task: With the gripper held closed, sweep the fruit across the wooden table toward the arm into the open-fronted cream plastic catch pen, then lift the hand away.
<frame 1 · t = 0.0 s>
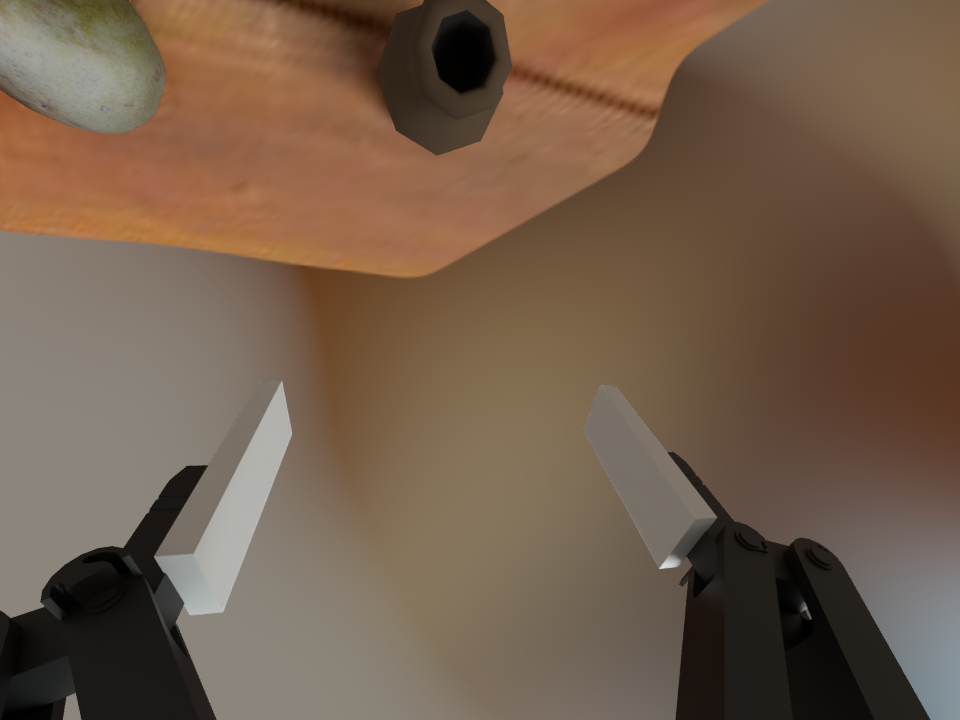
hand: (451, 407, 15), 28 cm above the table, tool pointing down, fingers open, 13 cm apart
fruit: (119, 58, 28), on the table
beer bottle: (432, 96, 32), on the table
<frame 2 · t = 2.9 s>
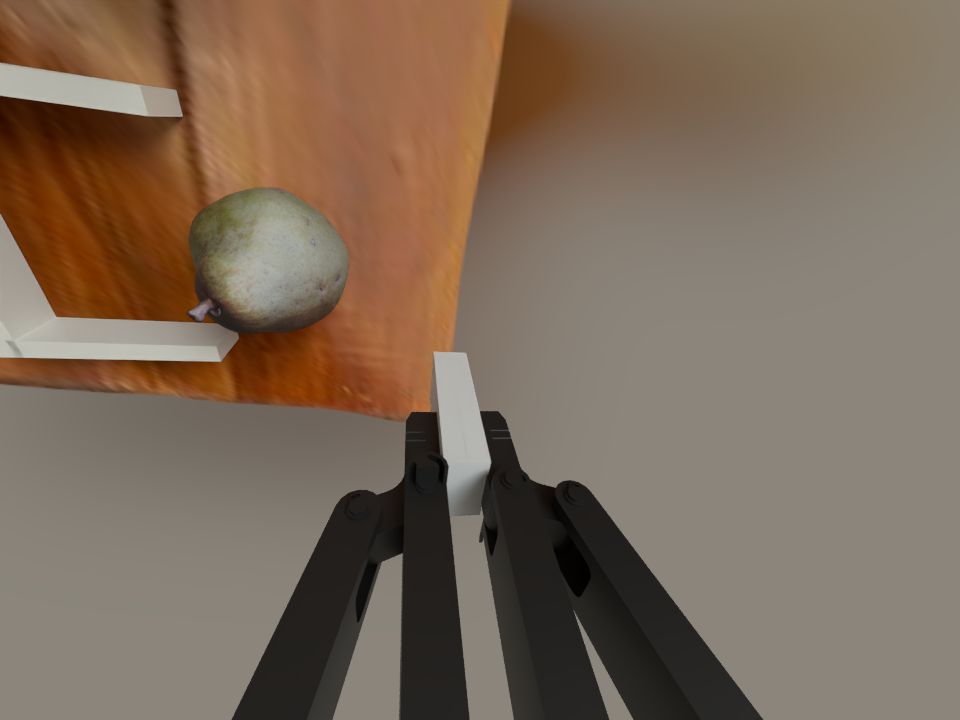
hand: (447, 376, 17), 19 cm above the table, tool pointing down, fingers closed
catch pen: (109, 226, 28), on the table
fruit: (294, 241, 31), on the table
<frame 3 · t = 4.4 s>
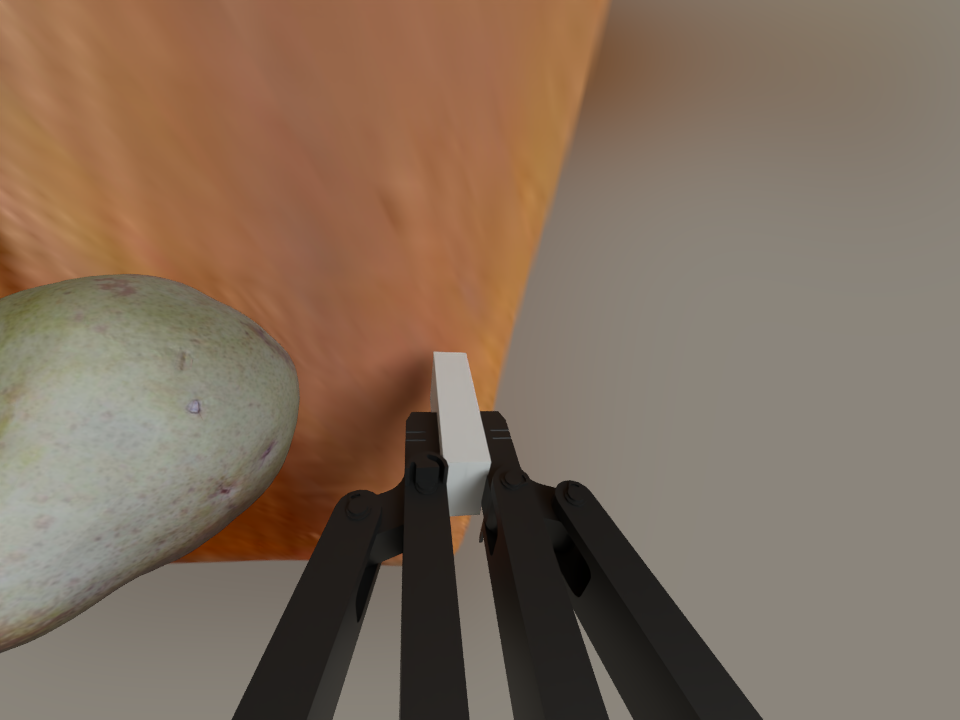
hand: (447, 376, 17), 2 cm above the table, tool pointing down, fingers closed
fruit: (208, 343, 17), on the table
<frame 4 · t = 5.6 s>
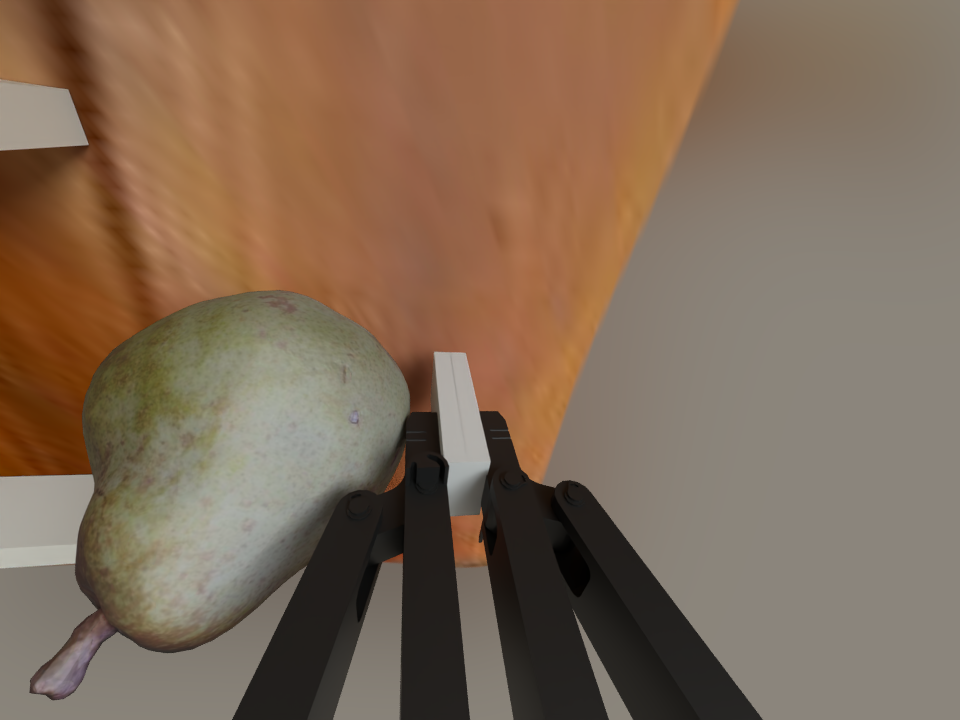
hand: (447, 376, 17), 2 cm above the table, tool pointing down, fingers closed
fruit: (309, 352, 18), on the table, touching gripper
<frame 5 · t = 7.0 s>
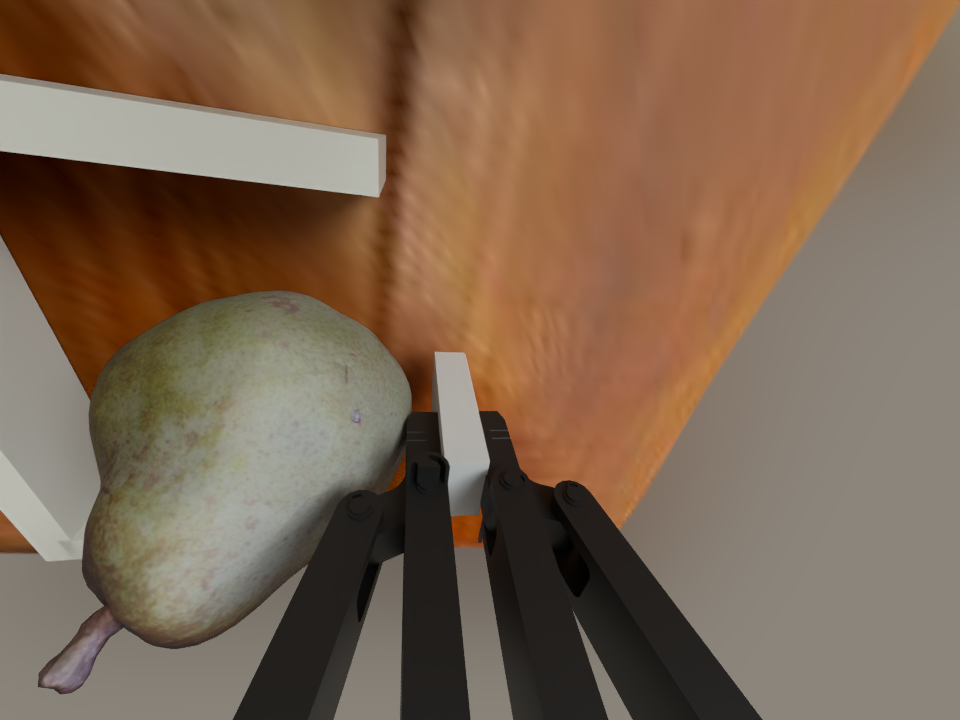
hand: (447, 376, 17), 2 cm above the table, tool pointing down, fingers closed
catch pen: (229, 348, 17), on the table
fruit: (312, 352, 18), on the table, touching gripper
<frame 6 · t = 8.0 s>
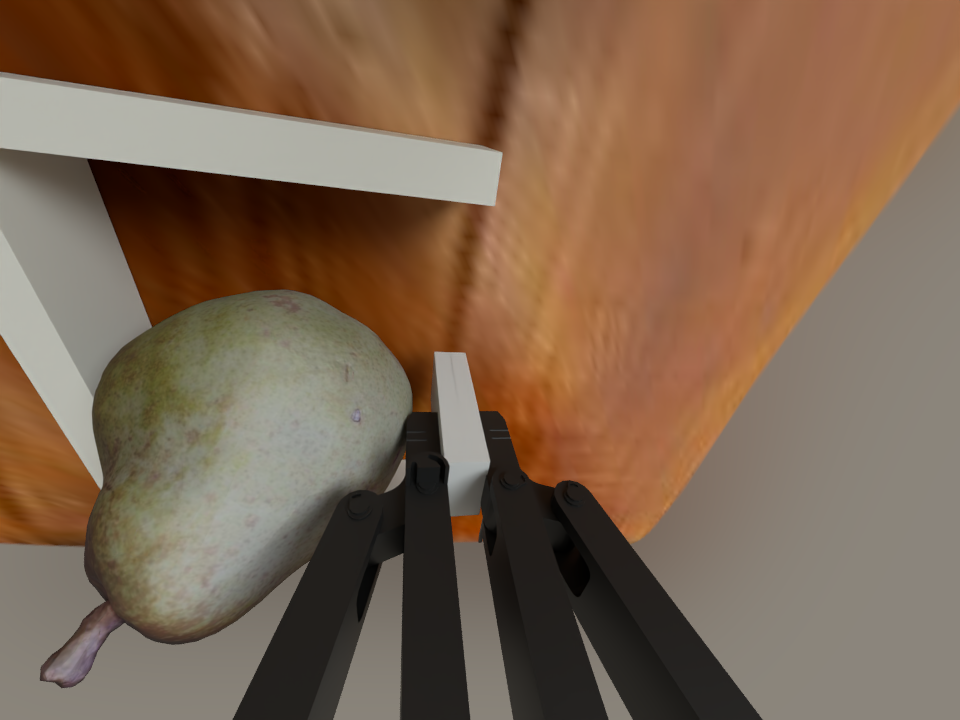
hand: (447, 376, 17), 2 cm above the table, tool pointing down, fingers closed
catch pen: (313, 348, 18), on the table
fruit: (314, 351, 18), on the table, touching gripper
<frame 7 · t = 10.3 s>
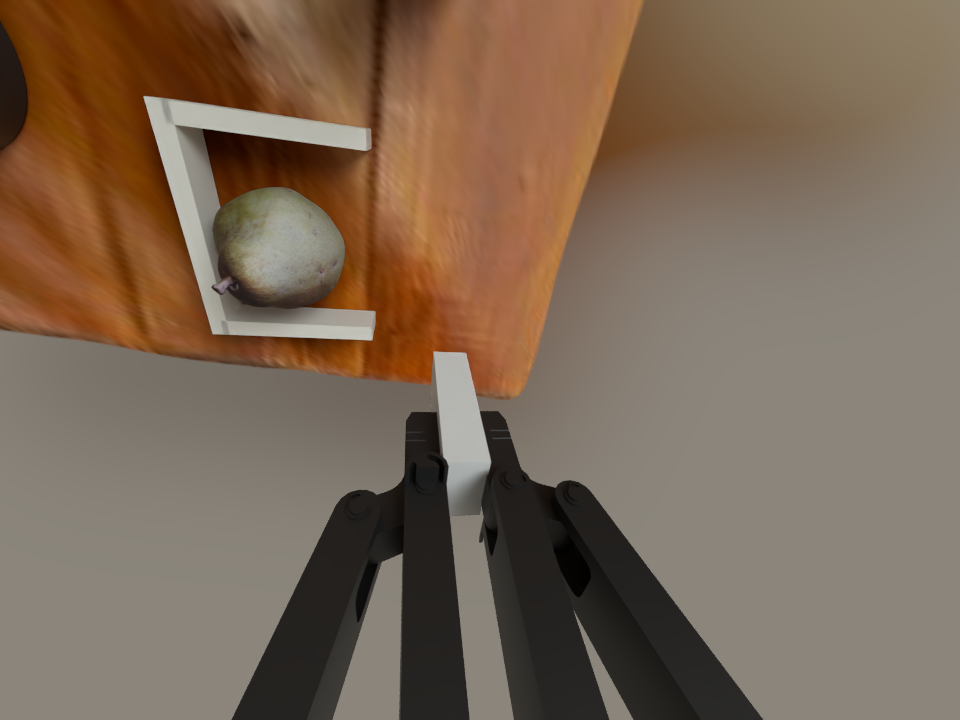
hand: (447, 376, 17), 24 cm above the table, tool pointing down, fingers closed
catch pen: (299, 232, 35), on the table
fruit: (299, 234, 36), on the table
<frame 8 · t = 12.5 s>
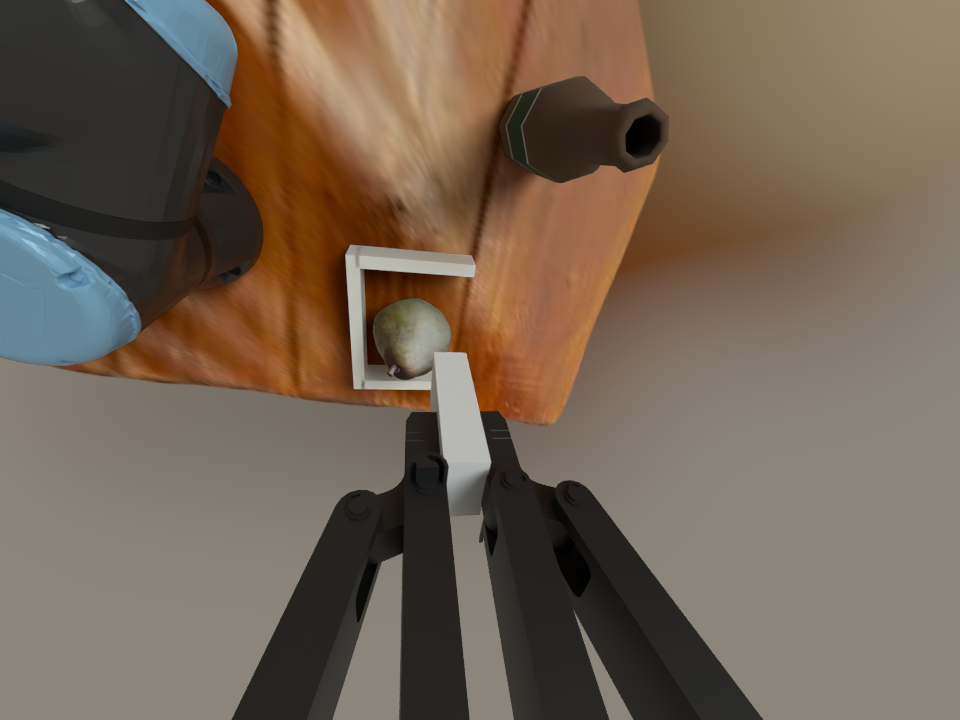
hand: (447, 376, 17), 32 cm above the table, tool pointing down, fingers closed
catch pen: (414, 318, 51), on the table
fruit: (413, 319, 51), on the table
beer bottle: (530, 130, 41), on the table
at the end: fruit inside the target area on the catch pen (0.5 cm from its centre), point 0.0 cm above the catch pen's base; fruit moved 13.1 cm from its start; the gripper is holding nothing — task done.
